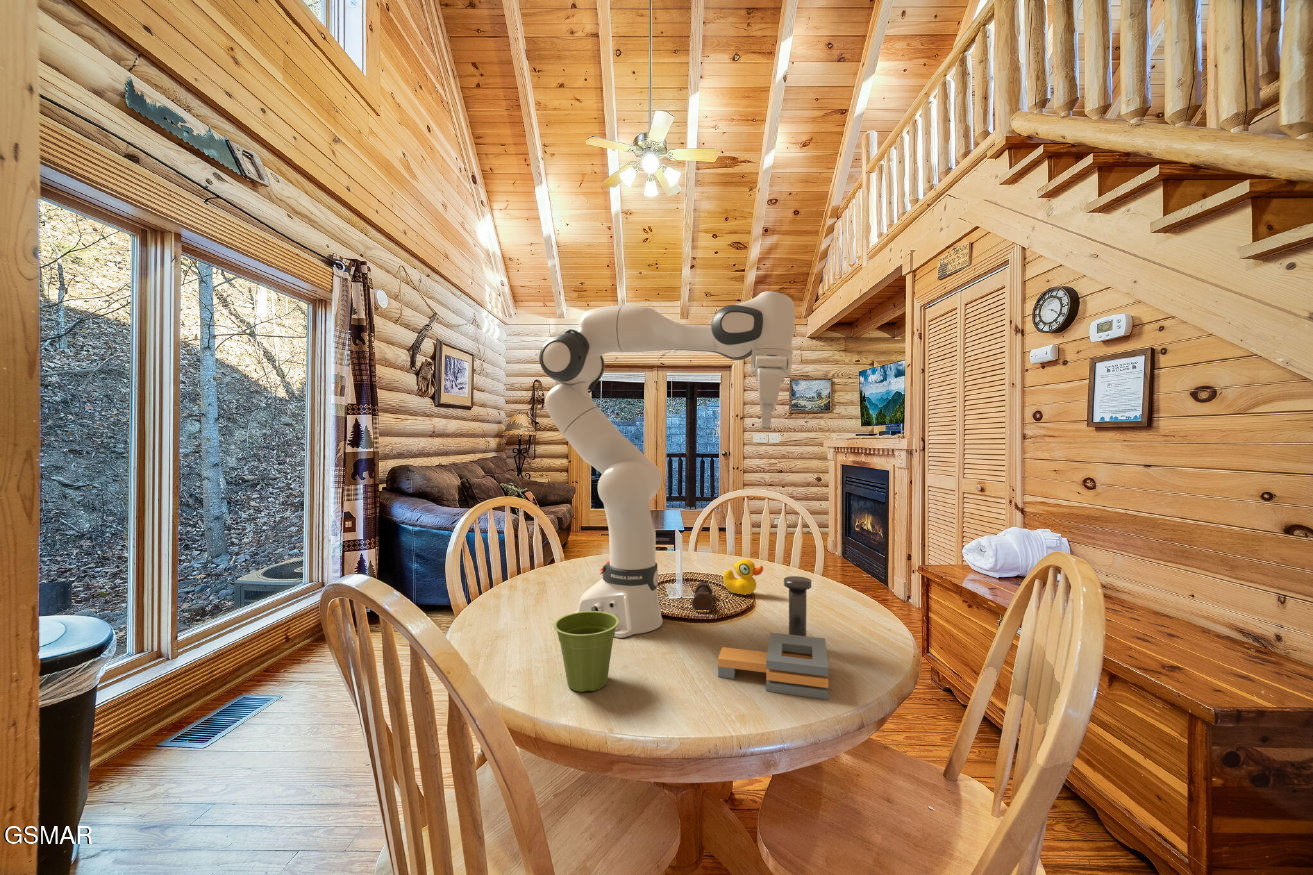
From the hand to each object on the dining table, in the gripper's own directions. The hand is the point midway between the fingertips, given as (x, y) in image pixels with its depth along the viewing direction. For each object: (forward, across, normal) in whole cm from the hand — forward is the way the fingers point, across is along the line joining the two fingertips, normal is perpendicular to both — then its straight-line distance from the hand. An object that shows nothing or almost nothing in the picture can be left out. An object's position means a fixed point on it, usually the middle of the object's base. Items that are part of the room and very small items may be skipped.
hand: (766, 428), depth 110 cm
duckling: (+45, -31, -3) cm, 55 cm away
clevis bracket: (+47, +14, +5) cm, 49 cm away
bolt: (+47, -22, -13) cm, 53 cm away
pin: (+46, 0, +10) cm, 47 cm away
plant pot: (+51, +24, -28) cm, 63 cm away
